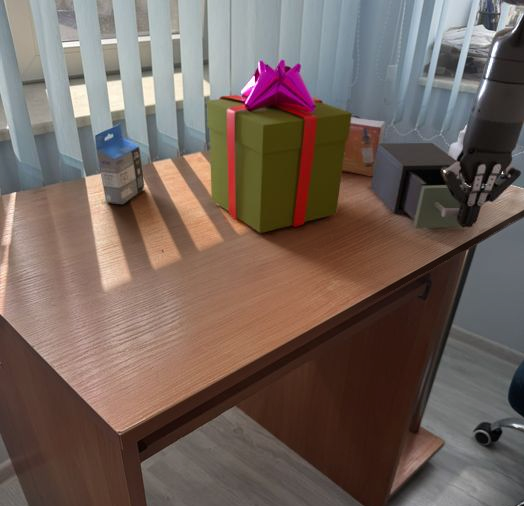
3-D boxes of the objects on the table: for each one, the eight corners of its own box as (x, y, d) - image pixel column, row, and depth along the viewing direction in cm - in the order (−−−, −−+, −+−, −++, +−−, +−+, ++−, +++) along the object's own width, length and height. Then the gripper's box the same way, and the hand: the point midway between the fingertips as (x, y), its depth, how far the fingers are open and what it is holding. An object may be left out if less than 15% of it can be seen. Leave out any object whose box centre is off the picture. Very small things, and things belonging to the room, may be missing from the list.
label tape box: (122, 205, 98) (113, 137, 90) (103, 202, 98) (93, 134, 91) (145, 189, 104) (138, 125, 97) (127, 186, 105) (119, 122, 98)
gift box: (271, 182, 110) (277, 47, 95) (349, 213, 99) (370, 65, 83) (195, 206, 98) (188, 57, 83) (273, 244, 87) (282, 79, 72)
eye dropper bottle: (461, 179, 116) (476, 122, 109) (464, 187, 112) (480, 129, 105) (441, 177, 117) (455, 120, 110) (443, 185, 112) (458, 127, 105)
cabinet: (450, 211, 101) (462, 164, 96) (393, 213, 99) (403, 165, 94) (422, 186, 112) (432, 142, 106) (370, 187, 110) (378, 143, 104)
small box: (337, 171, 117) (344, 121, 111) (344, 163, 122) (350, 116, 115) (372, 176, 115) (381, 126, 109) (377, 169, 120) (386, 120, 113)
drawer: (482, 237, 90) (495, 197, 86) (426, 240, 88) (436, 198, 84) (440, 200, 103) (449, 163, 99) (390, 201, 102) (397, 163, 97)
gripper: (468, 120, 71) (437, 237, 82) (554, 120, 73) (513, 233, 84) (444, 107, 77) (418, 217, 88) (524, 107, 79) (489, 214, 90)
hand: (465, 225), depth 86 cm, fingers closed
